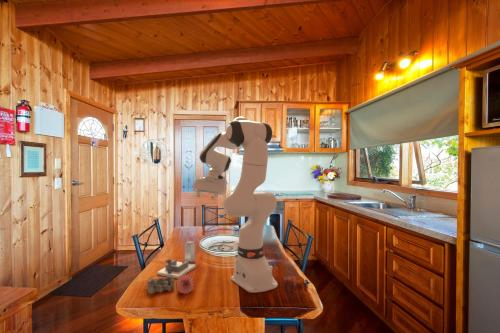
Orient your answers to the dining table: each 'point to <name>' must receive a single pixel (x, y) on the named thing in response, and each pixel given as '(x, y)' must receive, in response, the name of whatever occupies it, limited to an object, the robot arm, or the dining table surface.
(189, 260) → the end link
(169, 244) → the dining table surface
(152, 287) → the egg carton
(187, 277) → the flower
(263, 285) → the robot arm
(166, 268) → the keeper board
